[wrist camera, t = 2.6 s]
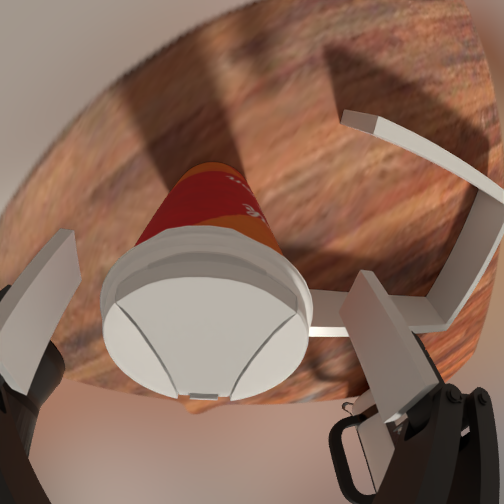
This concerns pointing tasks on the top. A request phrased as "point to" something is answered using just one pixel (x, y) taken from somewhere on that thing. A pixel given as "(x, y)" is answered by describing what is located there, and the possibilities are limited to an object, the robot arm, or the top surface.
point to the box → (460, 259)
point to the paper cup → (206, 295)
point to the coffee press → (364, 445)
